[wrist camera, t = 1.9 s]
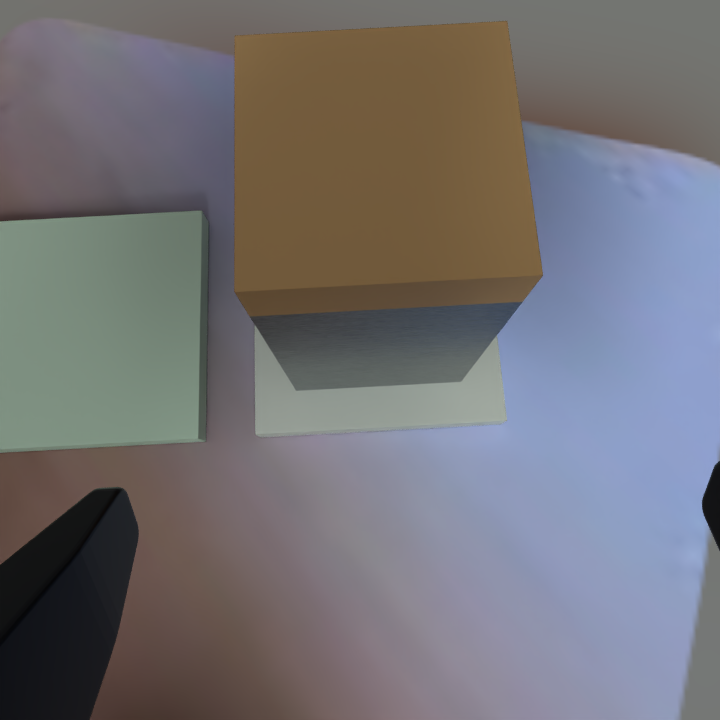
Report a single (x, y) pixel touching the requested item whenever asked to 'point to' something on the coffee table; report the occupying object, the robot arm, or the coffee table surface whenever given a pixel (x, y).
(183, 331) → the stand
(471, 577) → the coffee table surface
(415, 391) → the stand
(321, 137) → the cover
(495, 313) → the base
